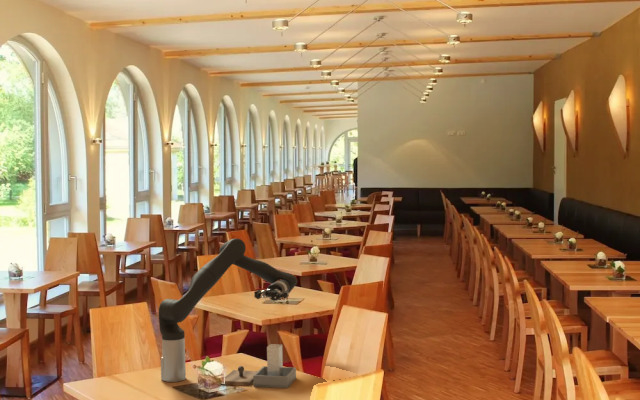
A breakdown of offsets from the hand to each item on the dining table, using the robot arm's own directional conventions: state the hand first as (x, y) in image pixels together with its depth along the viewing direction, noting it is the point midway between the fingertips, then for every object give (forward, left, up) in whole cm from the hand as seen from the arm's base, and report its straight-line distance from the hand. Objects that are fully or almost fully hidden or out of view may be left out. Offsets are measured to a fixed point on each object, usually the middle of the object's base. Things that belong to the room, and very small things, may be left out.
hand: (267, 297), depth 325 cm
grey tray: (+7, -15, -32) cm, 36 cm away
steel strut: (+7, -15, -31) cm, 35 cm away
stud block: (-8, -13, -32) cm, 35 cm away
